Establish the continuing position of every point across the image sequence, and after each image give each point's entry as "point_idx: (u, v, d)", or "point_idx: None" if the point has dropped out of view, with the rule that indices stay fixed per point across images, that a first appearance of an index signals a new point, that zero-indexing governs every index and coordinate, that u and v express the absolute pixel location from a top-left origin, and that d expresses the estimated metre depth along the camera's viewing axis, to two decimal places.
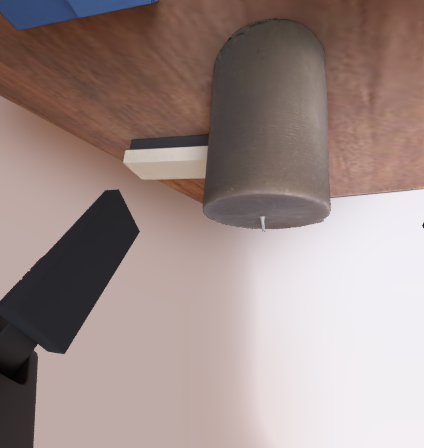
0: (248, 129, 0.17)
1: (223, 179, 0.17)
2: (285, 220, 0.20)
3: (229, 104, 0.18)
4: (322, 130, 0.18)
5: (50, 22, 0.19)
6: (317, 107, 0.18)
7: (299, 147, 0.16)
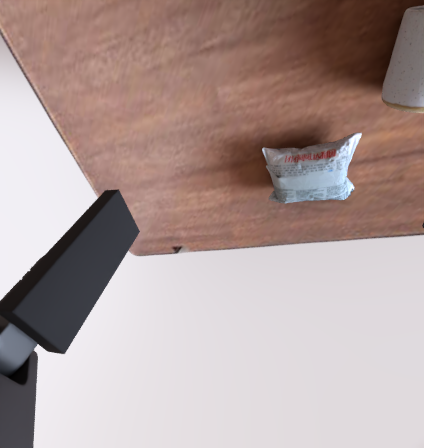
0: None
1: None
2: None
3: None
4: None
5: None
6: None
7: None
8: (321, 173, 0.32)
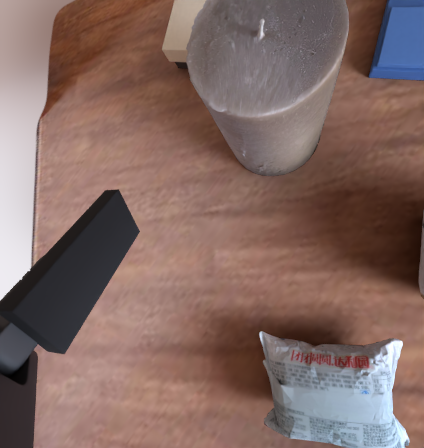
0: None
1: None
2: (236, 63, 0.15)
3: None
4: (289, 143, 0.19)
5: None
6: (296, 147, 0.21)
7: (319, 110, 0.17)
8: (350, 393, 0.20)
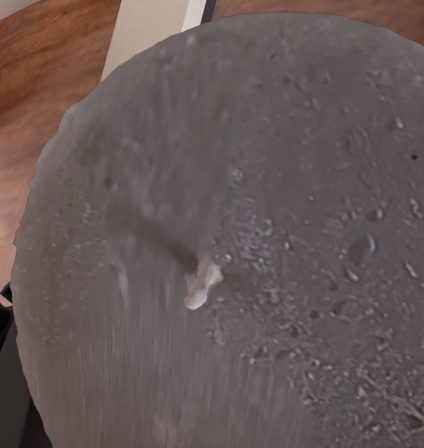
0: None
1: None
2: (131, 353, 0.05)
3: None
4: None
5: None
6: None
7: None
8: None
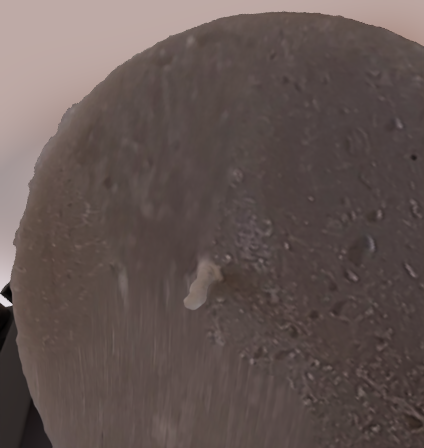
0: None
1: None
2: (131, 354, 0.05)
3: None
4: None
5: None
6: None
7: None
8: None
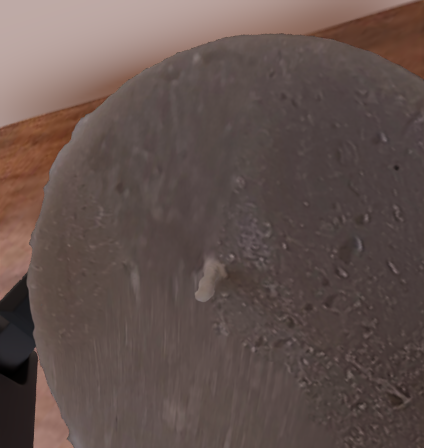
0: None
1: None
2: (142, 344, 0.05)
3: None
4: None
5: None
6: None
7: None
8: None
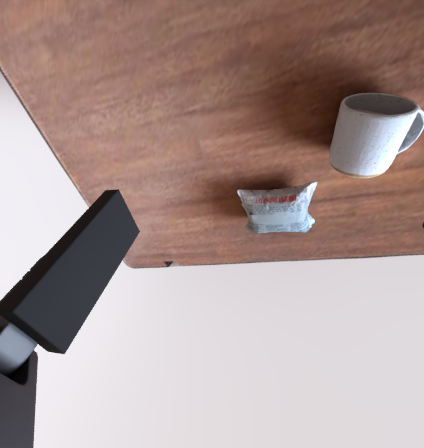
0: None
1: None
2: None
3: None
4: None
5: None
6: None
7: None
8: (285, 213, 0.39)
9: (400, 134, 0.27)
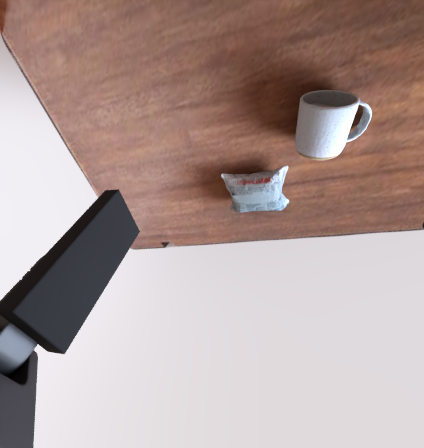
0: None
1: None
2: None
3: None
4: None
5: None
6: None
7: None
8: (261, 193, 0.46)
9: (344, 123, 0.34)
